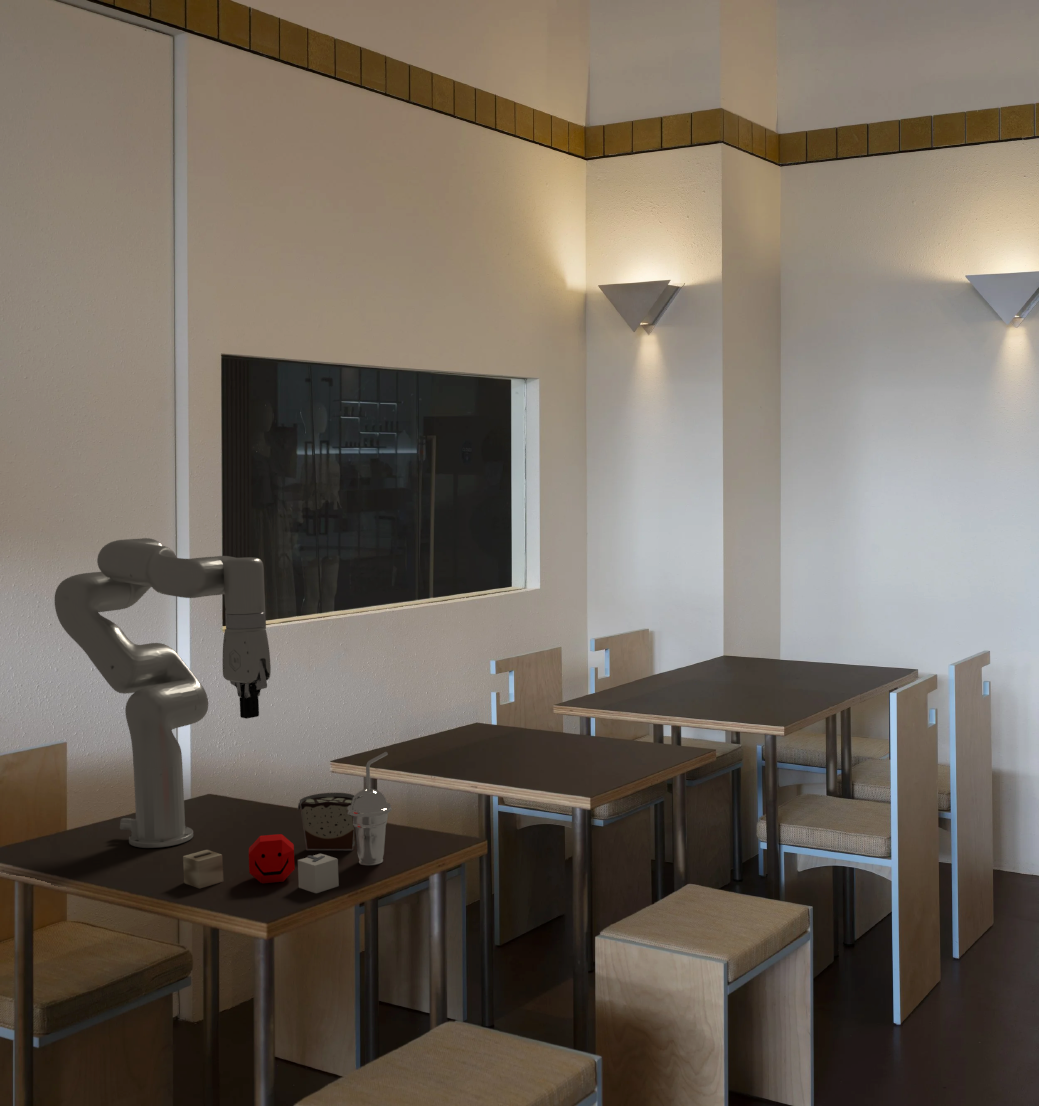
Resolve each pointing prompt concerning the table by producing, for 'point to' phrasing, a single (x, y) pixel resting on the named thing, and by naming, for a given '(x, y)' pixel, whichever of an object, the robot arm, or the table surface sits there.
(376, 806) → the cup with straw
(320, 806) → the food container
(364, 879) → the table surface
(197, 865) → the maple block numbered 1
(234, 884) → the table surface
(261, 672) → the robot arm
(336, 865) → the off-white block numbered 7
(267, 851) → the ball
